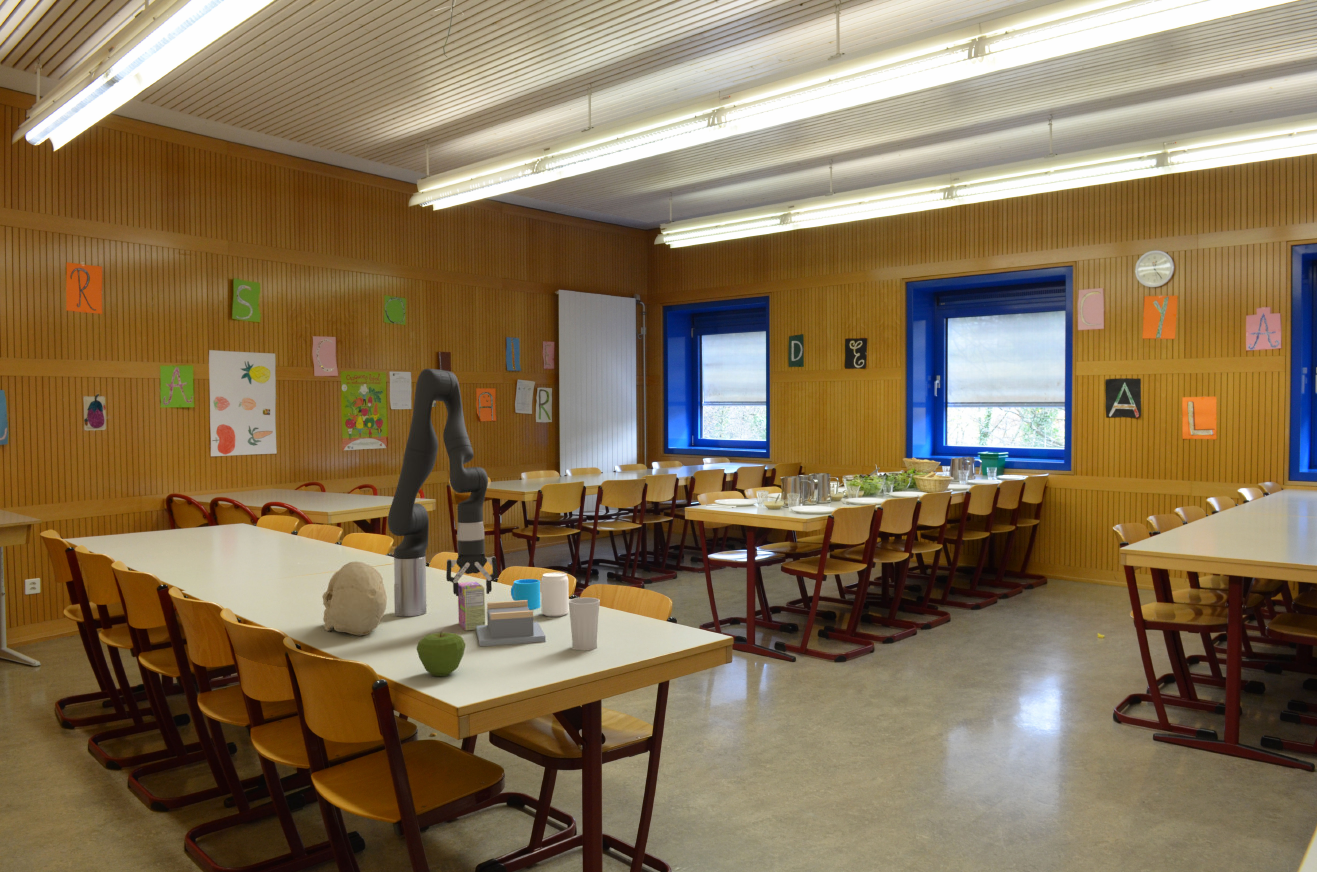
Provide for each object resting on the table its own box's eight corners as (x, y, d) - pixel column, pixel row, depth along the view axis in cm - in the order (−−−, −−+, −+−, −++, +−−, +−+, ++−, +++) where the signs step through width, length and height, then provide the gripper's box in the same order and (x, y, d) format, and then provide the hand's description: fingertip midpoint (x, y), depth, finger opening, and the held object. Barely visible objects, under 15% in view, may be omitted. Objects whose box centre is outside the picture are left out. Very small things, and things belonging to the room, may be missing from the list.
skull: (355, 617, 262) (356, 550, 260) (398, 636, 243) (398, 564, 242) (306, 625, 251) (306, 556, 250) (346, 646, 233) (347, 571, 232)
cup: (588, 652, 221) (587, 605, 221) (562, 648, 226) (562, 601, 225) (606, 645, 228) (605, 599, 228) (581, 641, 232) (581, 596, 232)
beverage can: (574, 613, 265) (573, 574, 265) (553, 618, 259) (553, 577, 259) (556, 609, 271) (556, 571, 271) (536, 614, 265) (535, 574, 265)
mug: (545, 607, 275) (545, 581, 275) (524, 611, 269) (524, 584, 269) (522, 601, 284) (521, 576, 283) (501, 605, 278) (500, 580, 278)
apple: (469, 667, 210) (468, 625, 209) (460, 680, 199) (460, 636, 199) (423, 667, 209) (422, 626, 209) (412, 681, 199) (411, 637, 199)
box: (458, 623, 255) (457, 582, 254) (477, 621, 257) (477, 580, 257) (465, 631, 245) (464, 588, 245) (485, 629, 247) (484, 587, 247)
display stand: (479, 646, 229) (479, 615, 228) (476, 631, 245) (475, 602, 245) (545, 641, 233) (545, 611, 233) (537, 626, 249) (537, 598, 249)
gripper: (445, 540, 245) (447, 599, 245) (497, 537, 249) (499, 595, 249) (444, 537, 252) (446, 594, 253) (495, 534, 256) (496, 590, 256)
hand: (472, 594), depth 251 cm, fingers open, 8 cm apart
